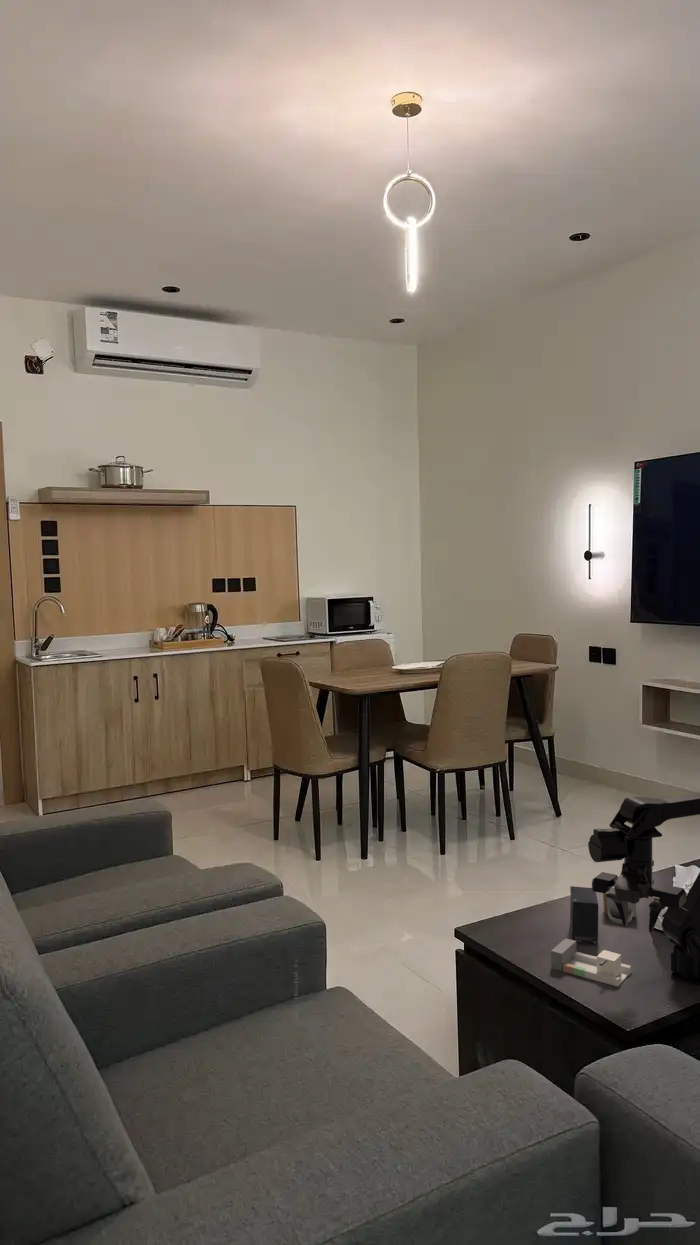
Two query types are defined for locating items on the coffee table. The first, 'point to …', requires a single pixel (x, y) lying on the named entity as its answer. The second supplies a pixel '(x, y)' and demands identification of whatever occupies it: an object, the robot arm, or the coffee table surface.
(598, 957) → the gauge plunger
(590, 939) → the small box
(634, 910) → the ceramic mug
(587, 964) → the base
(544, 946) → the coffee table surface
